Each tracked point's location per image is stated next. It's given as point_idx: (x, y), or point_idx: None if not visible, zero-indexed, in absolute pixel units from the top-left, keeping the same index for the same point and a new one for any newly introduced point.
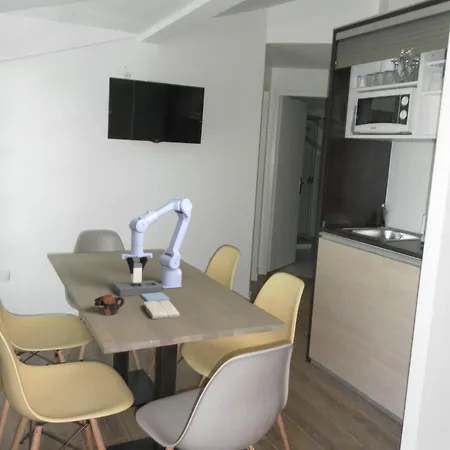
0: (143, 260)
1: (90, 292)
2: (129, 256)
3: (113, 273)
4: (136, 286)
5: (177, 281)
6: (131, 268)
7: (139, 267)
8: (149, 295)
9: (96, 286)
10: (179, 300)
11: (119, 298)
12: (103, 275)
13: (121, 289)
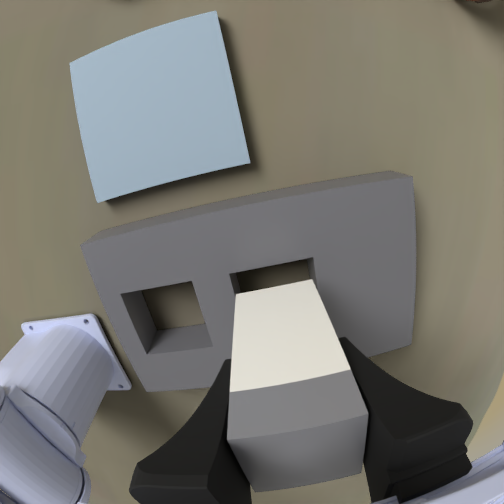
0: (203, 472)
1: (496, 266)
2: (481, 484)
3: (320, 490)
4: (279, 262)
5: (25, 347)
6: (373, 366)
7: (267, 389)
8: (189, 118)
9: (446, 359)
10: (31, 79)
11: None
12: (363, 472)
13: (405, 187)
